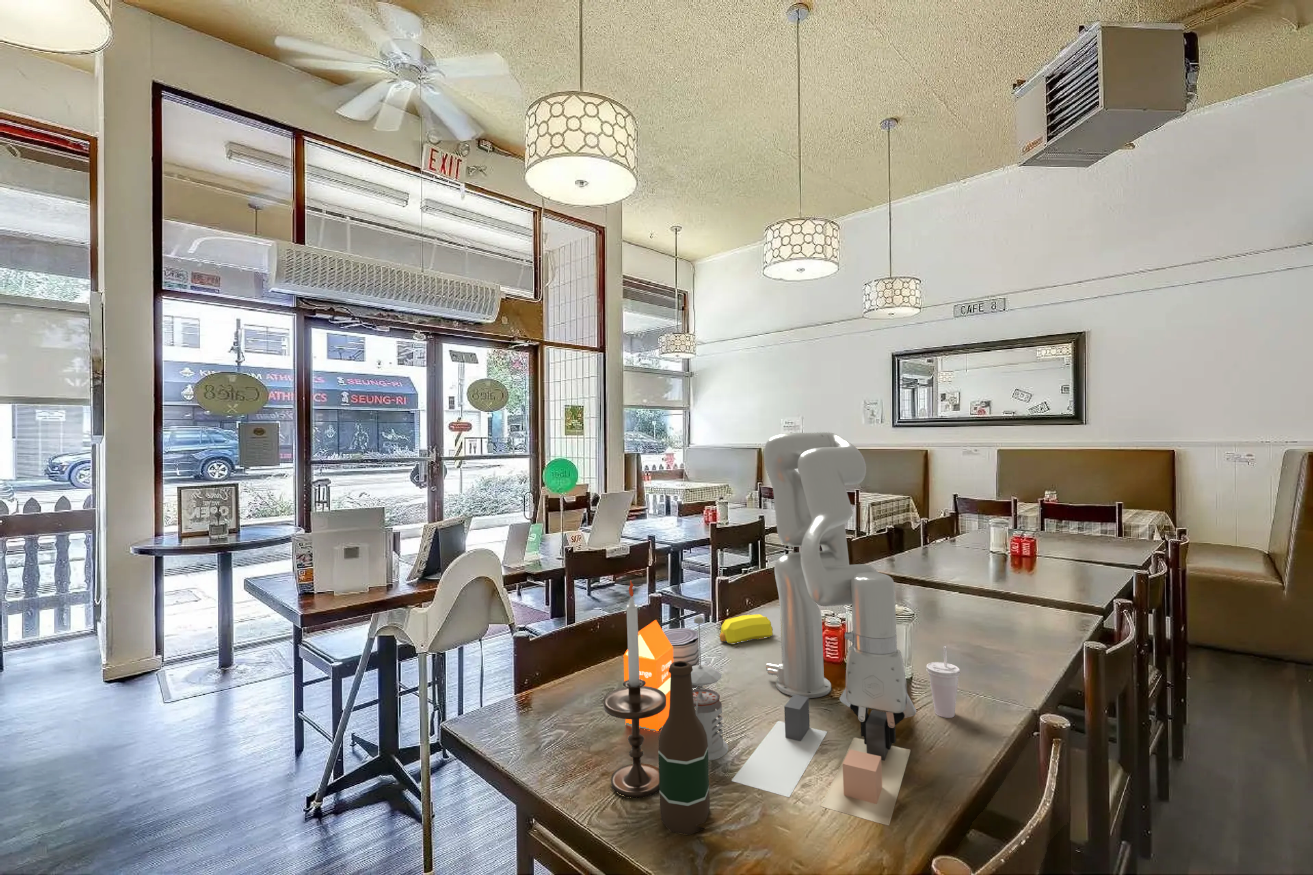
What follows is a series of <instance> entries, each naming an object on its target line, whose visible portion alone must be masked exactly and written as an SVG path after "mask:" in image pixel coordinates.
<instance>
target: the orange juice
mask: <svg viewBox="0 0 1313 875" xmlns="http://www.w3.org/2000/svg"><path fill="white" fill-rule="evenodd" d="M663 631H664V630H663V628H662V627H661V626H660V624H659V622H658V620H657V619H655V620H653V621H651V622H650V623H649V624H648V625H645V626H644V627H643V628H641V629H640V630H638V645H639V677H640V679H641V680H644V681H645V682H646V684H645V685H644V686H648V687H653V688H656V689H659V690H661V691H662V692H663V693H664V694H665V696H666V707H665V708H664V710H663V711H661V712H660V713H658V714H656V715H654V716H651V717H647V718H642V719H639V726H641V727H646V728H649V729H655V730H656V731H659V729H660V728H661V727H662V726H663V725H664V724H665V722H666V720H667V718H668V715H669V708H670V680H671V673H670V672H668V671H669V667H670V665H671V664H672V663H673V646H672V645H671V643H670V642H669V640H668V639H667V637H666V635H665V634H664V632H663ZM623 679H624V680H623V681H624V682H625V681H627V680H629V670H628V648H627V649H626V651H625V652H624V654H623ZM624 682H623V683H624ZM624 720H625V724H626V723H629V724H632V719H624ZM659 732H660V731H659Z"/></svg>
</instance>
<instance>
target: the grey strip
mask: <svg viewBox="0 0 1313 875" xmlns="http://www.w3.org/2000/svg"><path fill="white" fill-rule="evenodd" d="M809 699H810V698H809V697H805V696H799V695H793V696H790V698H789V700H788V701H787V703H786V704H785V705H784V710H783V711H784V721H780V720H777V722H776V723H775V724H774V725H773V727H772V728H771V729H770V730H769V732H768V733H767V735H766V736H765V737H764V738H763V740H762V741H761V742H760V744H759V745H758V746H757V747H756V748H755V750H754V751H753V752H752V754H751V755H750V756H749V757H748V759H747V760H746V761H745V763H744V764H743V765H742V766H741V767H740V768H739V770H738V771H737V773H736V774H735V776H734V777H733V778H732V779H731V782H734V783H737V784H740V785H744V786H747V787H751V788H755V789H758V790H760V791H764V792H768V793H772V794H775V795H779V796H782V797H786V798H790V797H791V796H792V794H793V792H794V790H795V788H796V787H797V785H798V783H799V782H800V780H801V778H802V777H803V775H804V773H805V772H806V770H807V768H808V766H809V765H810V763H811V760H812V759H813V758H814V756H815V754H816V753H817V751H818V749H819V748H820V746H821V744H822V742H823V741H824V738H825V737H826V735H827V734H828V731H826V730H821V729H819V728H818V729H817V728H812V727H810V726H811V725H810V723H811V722H810V700H809Z"/></svg>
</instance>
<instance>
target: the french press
mask: <svg viewBox="0 0 1313 875" xmlns="http://www.w3.org/2000/svg"><path fill="white" fill-rule="evenodd" d="M704 621H705V620H704V618H703V617H702V616H701V615H699V616H698V615H697V616H695V617H694V618H693V623H694V624H697V625H698V640H699V665H696V666H692V669H693V671H692V672H691V679H692V685H697V686H698V687H700V688H696V689H694V690H693V689H692V690H693V701H694V708H695V713H696V716H697V717H698V719H699V720H700V722H701V723H702V724H703V727H704V729H705V732H706V734H707V742H708V761H714V760H717V759H720V758H721V757H723V756H725V755H726V754H727V752H728V751H729V744H728V743H727V742H726V741H725V739H724V736H722V735H723V734H724V733H723V729H722V728H723V723H722V722H721V721H723V716H722V715H721V714H723V707H722V706H723V705H722V704H723V703H722V701H720V699H721V696H720V694H719V693H718V692H717V691H715V690H713V689H709V688H702V687H703V686H708V685H712V684H715V683H718V682H719V681H720V679H722V673H721V672H720V670H718V669H716V668H714V667H713V666H710V665H705V664H702V659H701V658H702V657H701V628H700V624H704ZM717 731H719V732H717Z"/></svg>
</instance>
